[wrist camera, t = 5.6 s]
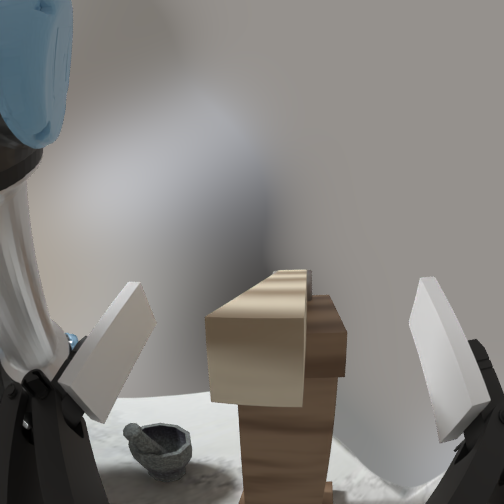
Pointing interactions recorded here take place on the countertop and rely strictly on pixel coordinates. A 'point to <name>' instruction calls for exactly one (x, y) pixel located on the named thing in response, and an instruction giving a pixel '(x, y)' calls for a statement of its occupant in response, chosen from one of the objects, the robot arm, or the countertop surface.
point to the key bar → (261, 343)
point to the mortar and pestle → (160, 449)
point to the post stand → (297, 423)
